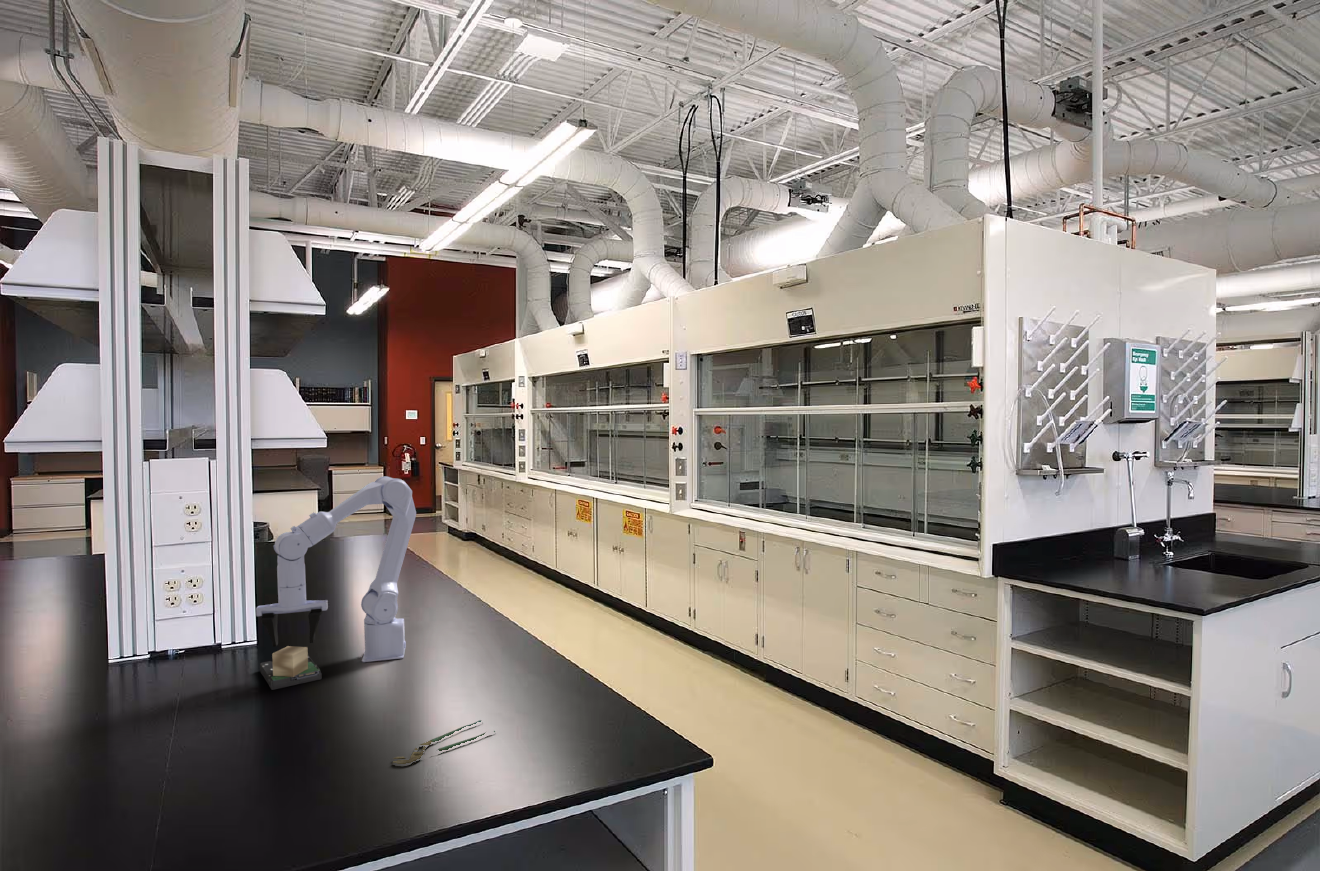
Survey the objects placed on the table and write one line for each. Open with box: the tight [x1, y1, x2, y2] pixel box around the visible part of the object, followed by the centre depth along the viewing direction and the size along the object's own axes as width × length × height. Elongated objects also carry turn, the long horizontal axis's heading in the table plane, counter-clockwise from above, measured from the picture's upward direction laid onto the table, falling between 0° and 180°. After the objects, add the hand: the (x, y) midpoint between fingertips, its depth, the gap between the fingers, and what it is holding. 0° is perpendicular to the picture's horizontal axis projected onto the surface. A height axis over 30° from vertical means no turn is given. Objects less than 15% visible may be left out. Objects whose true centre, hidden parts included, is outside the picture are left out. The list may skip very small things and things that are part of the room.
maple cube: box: [271, 645, 309, 677], centre depth 162 cm, size 5×5×5 cm
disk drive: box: [259, 655, 322, 691], centre depth 165 cm, size 10×3×15 cm
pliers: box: [392, 719, 486, 764], centre depth 130 cm, size 20×7×1 cm, turn 136°
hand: (293, 643), depth 165 cm, fingers open, 7 cm apart
